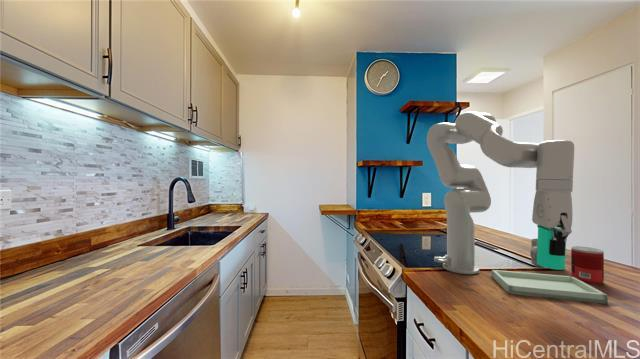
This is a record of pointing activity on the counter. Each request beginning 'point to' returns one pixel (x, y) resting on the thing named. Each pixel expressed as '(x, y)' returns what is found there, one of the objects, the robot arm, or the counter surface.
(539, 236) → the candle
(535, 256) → the coffee mug
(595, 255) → the canned food
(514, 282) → the tray
